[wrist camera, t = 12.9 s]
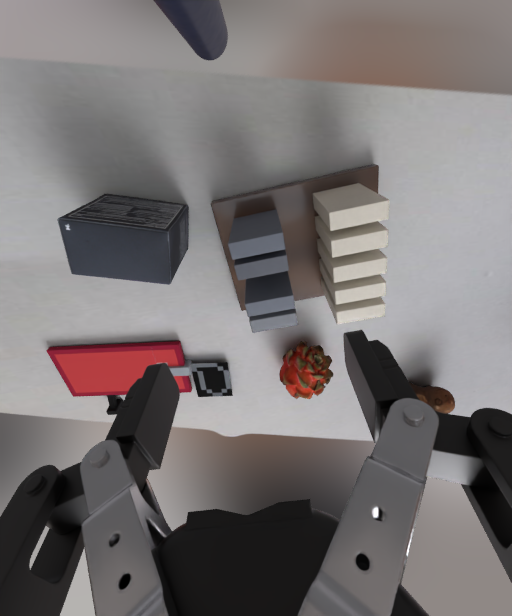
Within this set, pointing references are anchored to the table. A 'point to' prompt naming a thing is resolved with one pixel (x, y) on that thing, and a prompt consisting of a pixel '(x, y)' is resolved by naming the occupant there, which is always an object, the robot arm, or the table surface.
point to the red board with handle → (133, 369)
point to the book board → (290, 224)
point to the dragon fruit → (305, 370)
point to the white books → (352, 247)
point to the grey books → (263, 270)
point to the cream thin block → (353, 263)
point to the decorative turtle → (435, 398)
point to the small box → (126, 238)
